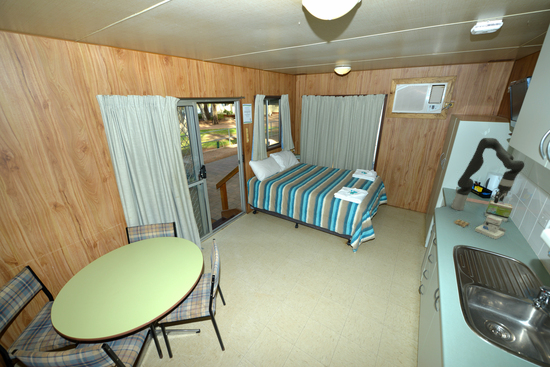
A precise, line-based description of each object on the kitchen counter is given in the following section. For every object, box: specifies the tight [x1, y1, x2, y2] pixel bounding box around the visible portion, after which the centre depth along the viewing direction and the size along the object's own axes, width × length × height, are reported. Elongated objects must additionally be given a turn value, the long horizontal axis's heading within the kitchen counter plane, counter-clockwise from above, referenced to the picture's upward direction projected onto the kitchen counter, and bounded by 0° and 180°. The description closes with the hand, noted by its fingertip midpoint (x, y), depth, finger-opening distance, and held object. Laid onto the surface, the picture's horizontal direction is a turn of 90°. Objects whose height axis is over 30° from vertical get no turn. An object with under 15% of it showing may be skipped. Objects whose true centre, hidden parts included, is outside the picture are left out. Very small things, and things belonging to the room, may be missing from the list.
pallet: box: [453, 218, 470, 228], centre depth 197 cm, size 8×8×2 cm
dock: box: [474, 221, 507, 240], centre depth 183 cm, size 14×14×5 cm
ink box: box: [483, 215, 503, 233], centre depth 181 cm, size 8×5×12 cm, turn 27°
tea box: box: [484, 199, 513, 223], centre depth 204 cm, size 15×10×15 cm, turn 47°
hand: (497, 201), depth 180 cm, fingers open, 8 cm apart
